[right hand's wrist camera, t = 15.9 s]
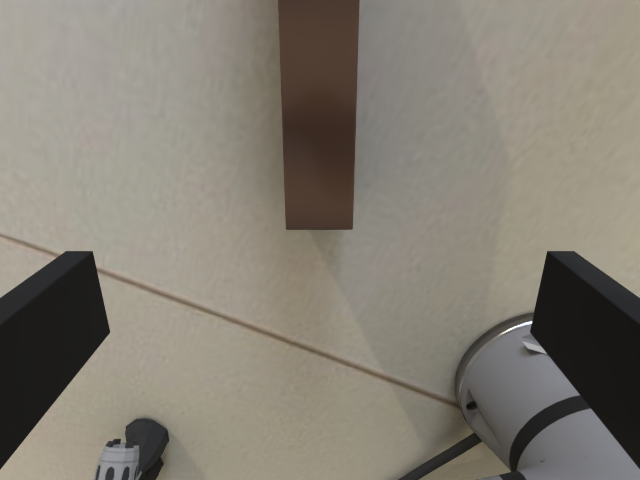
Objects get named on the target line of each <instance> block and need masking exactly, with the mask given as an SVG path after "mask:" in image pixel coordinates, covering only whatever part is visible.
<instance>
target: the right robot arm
mask: <svg viewBox="0 0 640 480" xmlns="http://www.w3.org/2000/svg"><path fill="white" fill-rule="evenodd" d="M109 333H110V329H109V325H108V320H107V315H106V311H105V306H104V302H103V297H102V292H101V288H100V283H99V279H98V274H97V269H96V265H95V260H94V255H93V251H66V252H64V253H63V254H62V255H60V256H59V257H57V258H56V259H55V260H53V261H52V262H50V263H49V264H48V265H46V266H45V267H43V268H42V269H41V270H39V271H38V272H36V273H35V274H33V275H32V276H31V277H29V278H28V279H26V280H25V281H24V282H22V283H21V284H19V285H18V286H17V287H15V288H14V289H12V290H11V291H10V292H8V293H7V294H5V295H4V296H3V297H1V298H0V469H1V468H2V467H3V465H4V464H5V463H6V462H7V460H8V459H9V458H10V457H11V455H12V454H13V453H14V452H15V450H16V449H17V448H18V447H19V445H20V444H21V443H22V442H23V440H24V439H25V438H26V437H27V435H28V434H29V433H30V432H31V430H32V429H33V428H34V427H35V425H36V424H37V423H38V422H39V420H40V419H41V418H42V417H43V415H44V414H45V413H46V412H47V410H48V409H49V408H50V407H51V405H52V404H53V403H54V402H55V400H56V399H57V398H58V397H59V396H60V394H61V393H62V392H63V391H64V389H65V388H66V387H67V386H68V384H69V383H70V382H71V381H72V379H73V378H74V377H75V376H76V374H77V373H78V372H79V371H80V369H81V368H82V367H83V366H84V364H85V363H86V362H87V361H88V359H89V358H90V357H91V356H92V354H93V353H94V352H95V351H96V349H97V348H98V347H99V346H100V344H101V343H102V342H103V341H104V339H105V338H106V337H107V336H108V334H109ZM455 393H456V398H457V401H458V404H459V406H460V409H461V411H462V413H463V416H464V418H465V420H466V422H467V423H468V425H469V426H470V427H471V429H472V430H473V431H474V432H475V433H473V434H471V435H470V436H468V437H467V438H465V439H464V440H462V441H460V442H459V443H457V444H455V445H454V446H452V447H451V448H449V449H447V450H446V451H444V452H442V453H441V454H439V455H437V456H436V457H434V458H432V459H430V460H429V461H427V462H425V463H424V464H422V465H421V466H419V467H417V468H416V469H414V470H413V471H411V472H410V473H408V474H407V475H405V476H404V477H402V478H400V479H399V480H418V479H420V478H422V477H423V476H425V475H427V474H428V473H430V472H432V471H433V470H435V469H437V468H438V467H440V466H442V465H444V464H445V463H447V462H449V461H451V460H452V459H454V458H456V457H457V456H459V455H461V454H462V453H464V452H466V451H467V450H469V449H471V448H472V447H474V446H475V445H477V444H479V443H480V442H482V441H483V442H484V443H485V444H486V445H487V446H488V447H489V448H490V449H491V450H492V451H493V452H494V453H495V454H496V456H497V457H498V458H499V459H500V460H501V461H502V462H503V463H504V464H505V465H506V466H507V467H508V468H509V469H510V471H511V473H506V474H502V475H496V476H491V477H487V478H482V479H477V480H640V298H639V297H637V296H636V295H635V294H633V293H632V292H630V291H629V290H628V289H626V288H625V287H623V286H622V285H621V284H619V283H618V282H616V281H615V280H614V279H612V278H611V277H609V276H608V275H607V274H605V273H604V272H602V271H601V270H599V269H598V268H597V267H595V266H594V265H592V264H591V263H590V262H588V261H587V260H585V259H584V258H583V257H581V256H580V255H578V254H577V253H576V252H574V251H547V255H546V260H545V265H544V269H543V274H542V279H541V283H540V288H539V292H538V297H537V302H536V306H535V311H534V313H529V314H525V315H521V316H517V317H515V318H512V319H509V320H507V321H505V322H502V323H500V324H499V325H497V326H495V327H493V328H492V329H490V330H489V331H487V332H486V333H485V334H483V335H482V336H481V337H480V338H479V339H478V340H477V341H476V342H475V343H474V344H473V345H472V346H471V347H470V348H469V350H468V351H467V352H466V354H465V356H464V357H463V359H462V361H461V363H460V365H459V368H458V370H457V374H456V380H455Z"/></svg>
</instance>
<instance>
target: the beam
mask: <svg viewBox="0 0 640 480" xmlns="http://www.w3.org/2000/svg"><path fill="white" fill-rule="evenodd" d="M278 6H279V36H280V66H281V96H282V126H283V156H284V186H285V216H286V229H287V230H352V229H353V200H354V165H355V131H356V96H357V62H358V28H359V0H278Z"/></svg>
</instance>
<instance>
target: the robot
mask: <svg viewBox="0 0 640 480" xmlns="http://www.w3.org/2000/svg"><path fill="white" fill-rule="evenodd" d="M125 434H126V442H127V443H120V441H121V439H114V440H113V442H112V441H109V442H108V443H107V444H106V446H105V448H104V449H103V452H102V454H101V456H100V458H99V461H98V464H97V468H96V472H95V476H94V480H156V478H157V476H158V475H159V472H160V470H161V468H162V466H163V462H162V460H161V459H160V456H161V454H162V453H163V451H164V448H165V447H166V445H167V442H168V441H169V438H168V432H167V429H165V428H164V427H162V426H161V425H159V424H158V423H156V422H155V421H153V420H150V419H136V420H134V421H133V422H132V423H130V424H129V425H127V426H126V433H125Z"/></svg>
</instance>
